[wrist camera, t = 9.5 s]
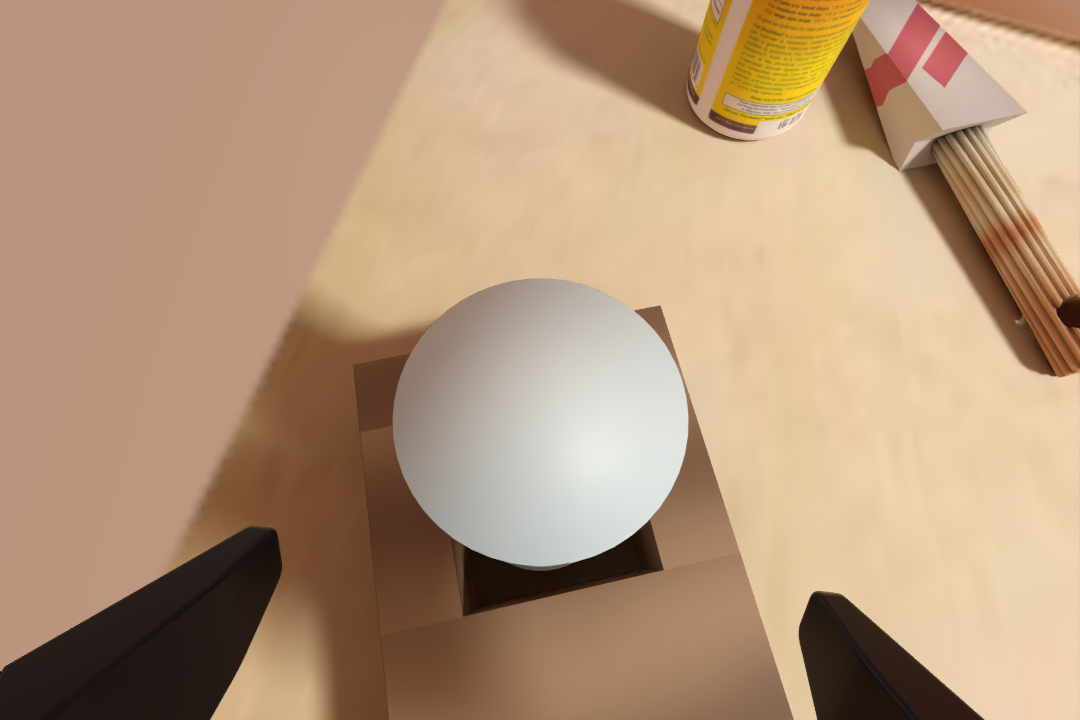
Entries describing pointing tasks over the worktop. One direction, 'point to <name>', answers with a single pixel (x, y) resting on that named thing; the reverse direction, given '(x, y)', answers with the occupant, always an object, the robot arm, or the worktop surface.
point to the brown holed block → (565, 606)
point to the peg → (540, 422)
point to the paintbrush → (967, 159)
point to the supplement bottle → (765, 61)
